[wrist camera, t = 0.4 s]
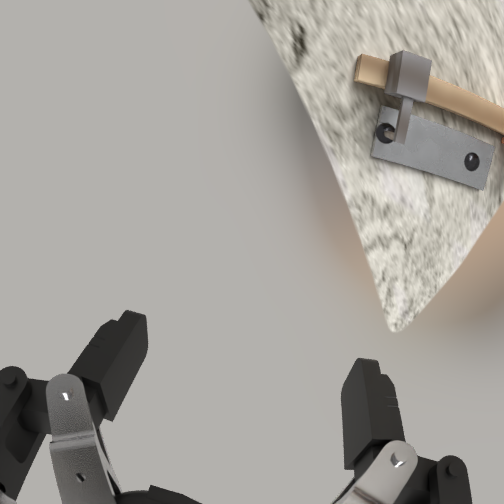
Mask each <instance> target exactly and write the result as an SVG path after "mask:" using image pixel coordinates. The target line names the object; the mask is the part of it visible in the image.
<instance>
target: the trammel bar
mask: <svg viewBox="0 0 504 504" xmlns="http://www.w3.org/2000/svg"><path fill="white" fill-rule="evenodd" d="M431 63H432V60H429V59H427V58H424V57H421V56H418V55H416V54H413V53H410V52H407V51H404V50H403V51H400V52H398V53H395V54H393V55H391V56H390V61H386V60H382V59H379V58H376V57H372V56H368V55H365V54H361V55H360V56H358V59H357V65H356V72H355V78H354V81H355V82H359V83H363V84H367V85H371V86H374V87H378V88H381V89H385V91H384V93H385V94H388V95H391V96H395V97H398V98H401V103H400V108H399V113H398V119H397V124H396V128H395V133H394V132H391V131H388V130H386V131H385V132H384V136H385V137H387V138H389V139H391V140H393V141H394V142H397V143H400V144H403V145H404V144H405V140H406V135H407V131H408V126H409V121H410V116H411V111H412V106H413V101H414V102H425V103H428V104H431V105H434V106H436V107H439V108H442V109H444V110H447V111H449V112H452V113H454V114H457V115H459V116H462V117H464V118H467V119H469V120H471V121H474V122H476V123H478V124H480V125H483V126H485V127H487V128H489V129H491V130H493V131H495V132H497V133H499V134H502V135H504V108H502V107H500V106H498V105H496V104H494V103H492V102H490V101H488V100H486V99H484V98H482V97H480V96H478V95H475V94H473V93H471V92H469V91H467V90H464V89H462V88H460V87H458V86H455V85H453V84H450V83H448V82H446V81H443V80H441V79H438V78H436V77H433V76H430V70H431Z"/></svg>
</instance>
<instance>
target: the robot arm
mask: <svg viewBox="0 0 504 504" xmlns="http://www.w3.org/2000/svg"><path fill="white" fill-rule="evenodd" d="M147 350H148V334H147V321H146V316H145V315H143V314H140V313H136V312H133V311H129V310H126V311H125V312H124V313H123V314H122V316H121V317H120V319H119V320H118V321H116V320H110V321H108V322H107V323H105V324H104V325H102V326H101V327H100V328H99V329H98V331H97V332H96V334H95V335H94V337H93V338H92V339H91V341H90V342H89V345H87V346H86V348H85V349H84V350H83V352H82V353H81V355H80V356H79V357H78V359H77V360H76V362H75V363H74V365H73V366H72V368H71V369H70V371H69V372H68V373H67V374H60V375H57V376H55V377H53V378H52V379H51V380H50V381H44V380H36V379H29V378H27V376H26V374H25V372H24V371H23V370H22V369H21V368H19V367H14V366H9V367H6V368H3V369H2V370H0V504H17V503H16V502H15V501H16V499H17V496H18V494H19V492H20V490H21V487H22V485H23V483H24V480H25V478H26V476H27V474H28V471H29V469H30V467H31V465H32V463H33V461H34V459H35V456H36V454H37V452H38V450H39V448H40V446H41V444H42V442H43V440H44V438H45V436H46V434H51V435H52V442H50V454H51V459H52V464H53V468H54V473H55V476H56V481H57V485H58V489H59V493H60V496H61V500H62V504H201V503H199V502H197V501H195V500H193V499H191V498H189V497H187V496H185V495H183V494H180V493H176V492H173V491H169V490H166V489H162V488H159V487H156V486H153V485H150V488H149V491H145V490H141V491H129V492H124V493H123V492H122V490H121V487H120V485H119V482H118V480H117V477H116V475H115V473H114V470H113V468H112V465H111V462H110V459H109V456H108V453H107V450H106V446H105V443H104V440H103V437H102V433H101V430H100V424H101V422H102V420H103V418H104V419H107V420H110V421H113V420H114V418H115V416H116V414H117V412H118V410H119V407H120V406H121V404H122V402H123V400H124V398H125V396H126V394H127V392H128V390H129V388H130V386H131V384H132V382H133V380H134V378H135V376H136V374H137V373H138V371H139V368H140V367H141V365H142V363H143V361H144V359H145V357H146V354H147ZM341 406H342V420H343V442H344V469H345V470H354V477H353V478H352V480H351V481H350V482H349V483H348V484H347V486H346V487H345V488H344V489H343V490H342V491H341V492H340V494H339V495H338V496H337V497H336V498H335V499H334V500H333V501H332V503H331V504H472V498H471V491H470V484H469V479H468V473H467V468H466V465H465V464H464V462H463V461H462V460H461V459H460V458H458V457H456V456H451V455H449V456H445V457H443V458H442V459H441V460H440V461H438V462H437V461H434V460H430V459H426V458H423V457H420V456H418V455H417V453H416V451H415V450H414V448H413V447H412V446H411V445H410V444H408V443H406V441H405V438H404V431H403V426H402V421H401V416H400V411H399V408H398V401H397V399H396V392H395V387H394V384H393V383H392V381H391V380H390V378H389V377H388V376H387V375H384V374H381V372H380V367H379V363H378V361H377V360H372V359H364V358H358V359H357V360H356V361H355V363H354V365H353V367H352V369H351V371H350V373H349V375H348V377H347V379H346V380H345V382H344V384H343V388H342V392H341Z"/></svg>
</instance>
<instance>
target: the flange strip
mask: <svg viewBox="0 0 504 504" xmlns="http://www.w3.org/2000/svg"><path fill="white" fill-rule="evenodd" d="M398 113H399V110H396V109H393V108H389V107H386V106H380V112H379V117H378V122H377V127H376V132H375V137H374V141H373V146H372V150H371V156H372V157H376V158H380V159H384V160H388V161H391V162H395V163H399V164H402V165H406V166H409V167H413V168H416V169H420V170H423V171H426V172H429V173H433V174H436V175H439V176H442V177H445V178H448V179H451V180H454V181H457V182H460V183H463V184H466V185H469V186H471V187H474V188H477V189H480V190H482V191H483V190H484V186H485V183H486V179H487V176H488V172H489V168H490V165H491V161H492V157H493V153H494V148H495V147H494V146H492V145H490V144H488V143H485V142H483V141H481V140H479V139H476V138H474V137H472V136H469V135H467V134H464V133H462V132H459V131H457V130H454V129H452V128H449V127H446V126H444V125H441V124H438V123H435V122H433V121H430V120H427V119H424V118H421V117H418V116H415V115H412V114H411V116H410V121H409V126H408V131H407V135H406V140H405V144H404V145H403V144H400V143H397V142H394V141H393V140H391V139H389V138H387V137H385V136H384V132H385V131H386V130H388V131H391V132H394V133H395V128H396V124H397V119H398Z"/></svg>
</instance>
